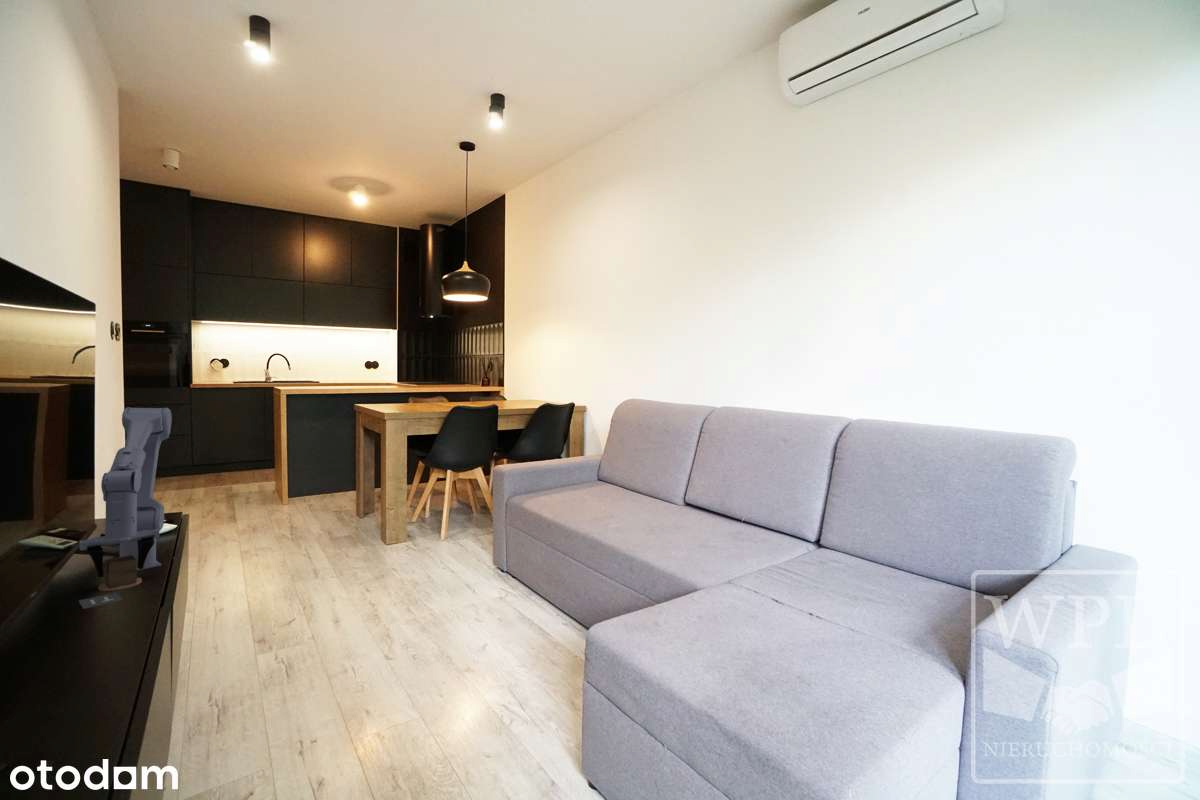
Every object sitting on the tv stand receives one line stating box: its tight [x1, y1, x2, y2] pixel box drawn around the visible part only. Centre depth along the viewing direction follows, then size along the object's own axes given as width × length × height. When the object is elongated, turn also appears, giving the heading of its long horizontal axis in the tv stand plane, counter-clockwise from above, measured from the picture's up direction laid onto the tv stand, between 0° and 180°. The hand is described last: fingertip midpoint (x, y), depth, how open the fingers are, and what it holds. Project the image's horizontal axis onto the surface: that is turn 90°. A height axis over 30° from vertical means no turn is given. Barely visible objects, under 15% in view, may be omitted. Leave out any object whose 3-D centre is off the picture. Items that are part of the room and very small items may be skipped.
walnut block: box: [104, 555, 138, 589], centre depth 129 cm, size 5×5×6 cm
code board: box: [78, 591, 123, 610], centre depth 120 cm, size 8×8×1 cm
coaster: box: [98, 577, 143, 592], centre depth 129 cm, size 8×8×1 cm
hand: (120, 571), depth 129 cm, fingers open, 7 cm apart
